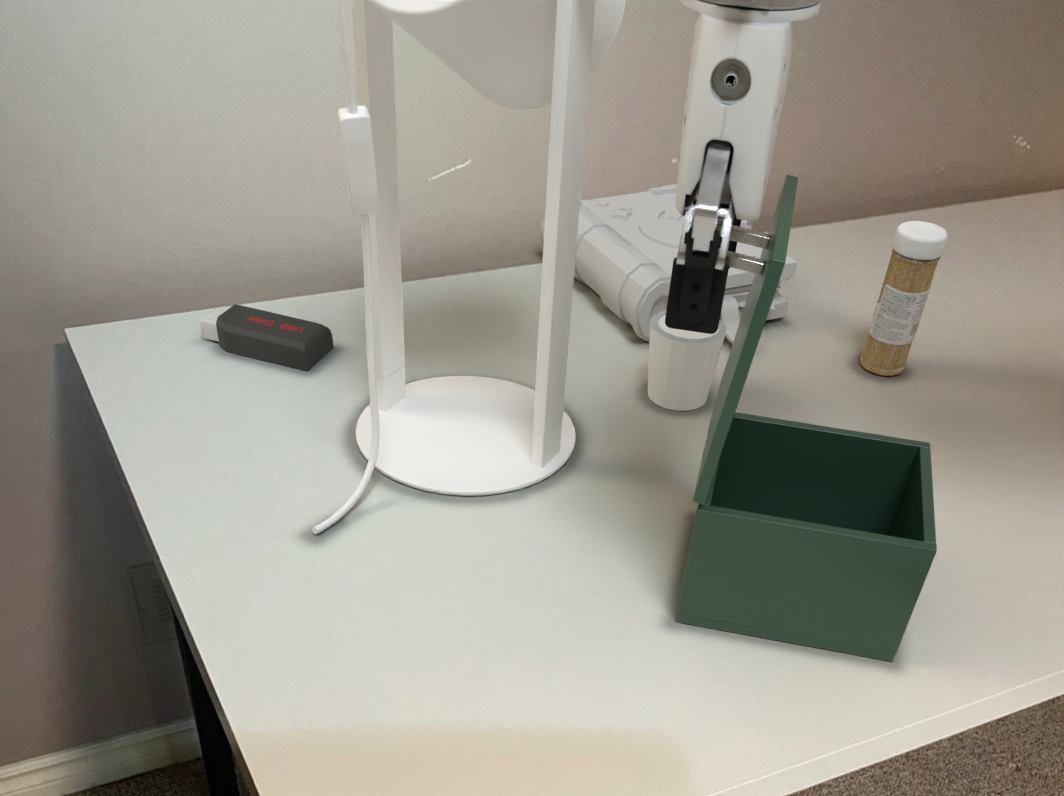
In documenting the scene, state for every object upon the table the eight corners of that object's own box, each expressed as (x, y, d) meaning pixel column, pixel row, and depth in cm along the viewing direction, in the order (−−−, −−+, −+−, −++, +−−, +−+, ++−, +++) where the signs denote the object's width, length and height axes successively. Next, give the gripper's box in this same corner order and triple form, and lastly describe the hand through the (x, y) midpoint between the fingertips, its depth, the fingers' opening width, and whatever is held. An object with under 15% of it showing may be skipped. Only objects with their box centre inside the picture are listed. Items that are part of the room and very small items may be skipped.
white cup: (679, 370, 104) (691, 300, 99) (728, 401, 101) (742, 330, 96) (626, 389, 101) (634, 318, 96) (674, 421, 98) (686, 349, 93)
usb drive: (308, 371, 101) (304, 343, 99) (197, 344, 104) (192, 317, 102) (334, 347, 105) (331, 320, 103) (226, 322, 107) (222, 295, 105)
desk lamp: (635, 407, 99) (721, -244, 67) (446, 590, 79) (439, -210, 47) (446, 345, 106) (441, -273, 74) (228, 499, 86) (92, -255, 54)
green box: (891, 550, 85) (930, 442, 78) (892, 662, 76) (937, 550, 69) (697, 517, 87) (718, 408, 80) (675, 622, 78) (696, 509, 71)
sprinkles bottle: (875, 351, 109) (915, 215, 100) (913, 368, 107) (959, 230, 97) (849, 364, 107) (888, 226, 97) (887, 382, 105) (931, 243, 95)
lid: (798, 176, 68) (722, 157, 68) (785, 262, 59) (697, 239, 59) (724, 404, 80) (659, 387, 80) (703, 505, 71) (630, 485, 71)
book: (657, 372, 104) (669, 295, 99) (534, 257, 121) (538, 186, 116) (820, 340, 110) (839, 266, 105) (681, 235, 128) (691, 167, 122)
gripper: (818, 20, 49) (747, 368, 62) (831, -54, 61) (769, 250, 73) (657, 3, 50) (618, 348, 63) (700, -67, 62) (660, 235, 74)
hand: (700, 295), depth 68 cm, fingers open, 9 cm apart
